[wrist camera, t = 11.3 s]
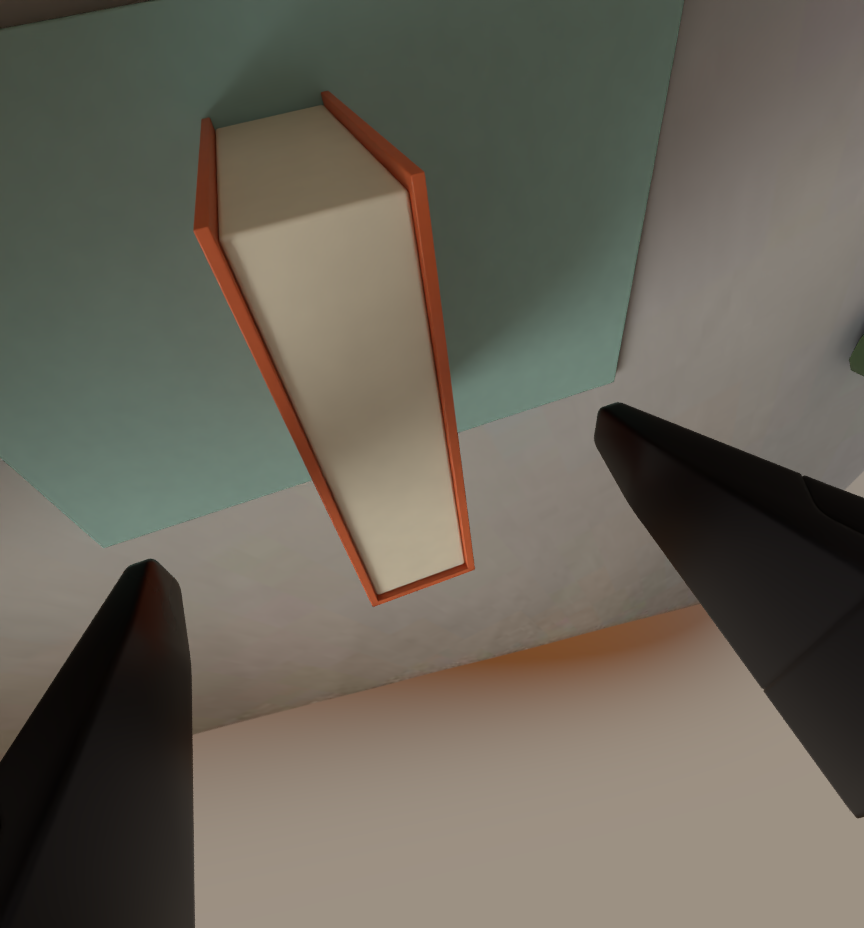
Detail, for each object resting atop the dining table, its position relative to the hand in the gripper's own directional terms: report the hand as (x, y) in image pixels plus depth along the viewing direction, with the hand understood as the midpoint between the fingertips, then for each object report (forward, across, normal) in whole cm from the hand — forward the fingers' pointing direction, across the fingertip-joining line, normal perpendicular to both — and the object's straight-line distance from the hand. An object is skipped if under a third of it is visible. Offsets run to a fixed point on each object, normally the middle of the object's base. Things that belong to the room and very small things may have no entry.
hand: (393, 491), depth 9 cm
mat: (+8, 0, 0) cm, 8 cm away
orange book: (+8, 0, 0) cm, 8 cm away
